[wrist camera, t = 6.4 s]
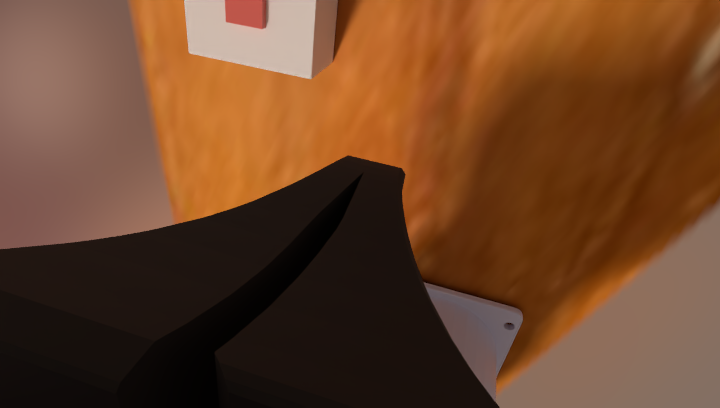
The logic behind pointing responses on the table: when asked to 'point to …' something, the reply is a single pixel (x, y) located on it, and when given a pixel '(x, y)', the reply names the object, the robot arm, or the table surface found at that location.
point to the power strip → (264, 33)
